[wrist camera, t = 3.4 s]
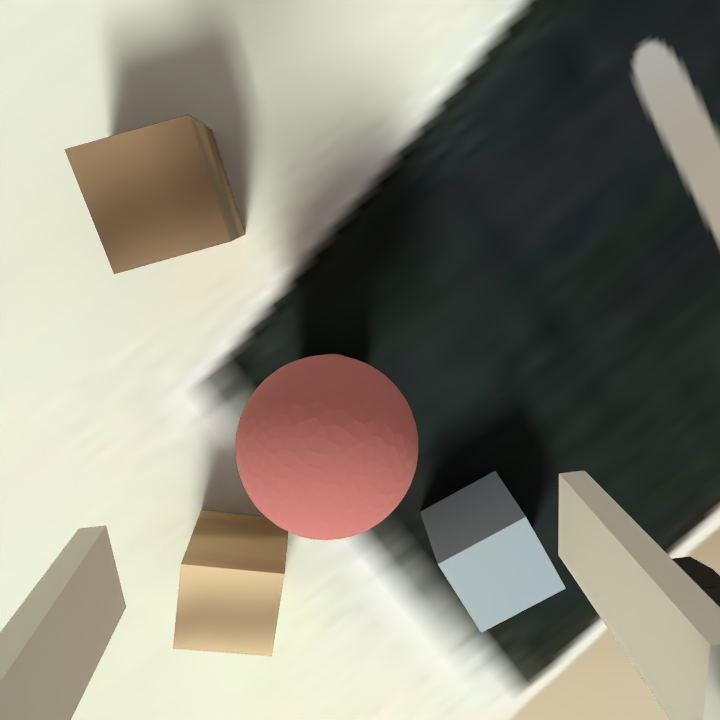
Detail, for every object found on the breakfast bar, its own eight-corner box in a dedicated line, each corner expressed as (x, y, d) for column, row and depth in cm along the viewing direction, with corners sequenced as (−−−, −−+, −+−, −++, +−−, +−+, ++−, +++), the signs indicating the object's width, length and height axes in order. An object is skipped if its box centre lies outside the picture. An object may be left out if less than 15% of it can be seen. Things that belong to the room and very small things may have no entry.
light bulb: (231, 359, 29) (176, 461, 18) (347, 289, 29) (367, 347, 17) (303, 462, 31) (296, 614, 20) (413, 398, 31) (471, 517, 19)
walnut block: (110, 158, 26) (64, 149, 22) (211, 130, 26) (188, 114, 22) (148, 261, 28) (114, 274, 23) (245, 234, 28) (230, 241, 23)
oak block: (201, 509, 32) (180, 564, 27) (289, 518, 32) (284, 573, 28) (194, 583, 33) (173, 648, 28) (278, 591, 34) (271, 656, 29)
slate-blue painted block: (419, 511, 33) (437, 564, 28) (494, 470, 33) (525, 516, 28) (458, 572, 34) (481, 632, 29) (530, 533, 34) (565, 588, 29)
